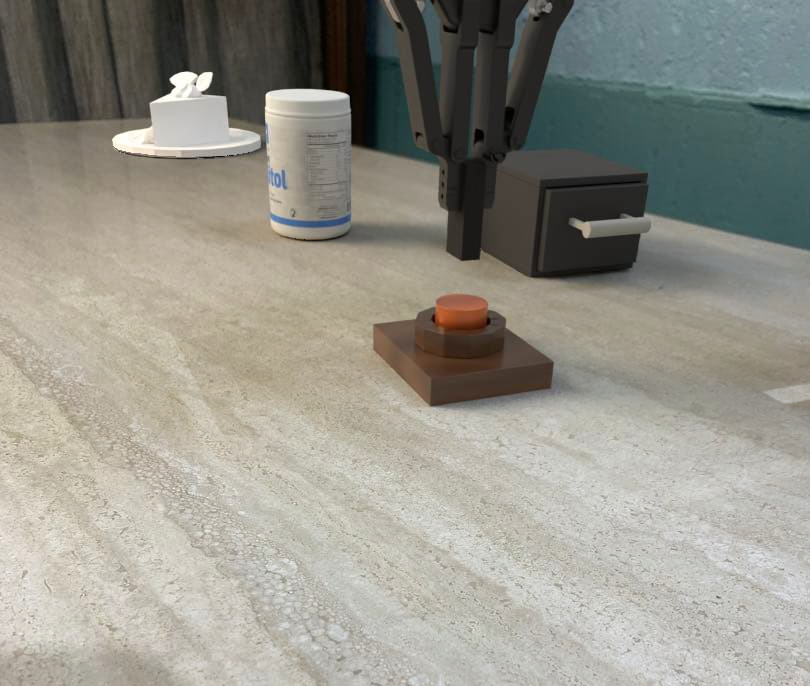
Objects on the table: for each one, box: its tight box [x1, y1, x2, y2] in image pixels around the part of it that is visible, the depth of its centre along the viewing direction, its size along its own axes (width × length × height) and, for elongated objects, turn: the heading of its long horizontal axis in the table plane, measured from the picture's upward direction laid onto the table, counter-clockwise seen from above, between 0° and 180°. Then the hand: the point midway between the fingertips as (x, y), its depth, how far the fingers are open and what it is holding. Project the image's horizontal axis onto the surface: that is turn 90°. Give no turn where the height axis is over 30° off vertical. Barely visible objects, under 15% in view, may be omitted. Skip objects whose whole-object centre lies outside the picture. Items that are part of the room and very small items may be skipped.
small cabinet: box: [481, 147, 649, 279], centre depth 94 cm, size 15×13×10 cm
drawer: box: [537, 182, 652, 272], centre depth 91 cm, size 18×11×8 cm, turn 22°
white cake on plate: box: [112, 71, 262, 157], centre depth 147 cm, size 25×25×11 cm
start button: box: [434, 293, 489, 330], centre depth 66 cm, size 4×4×2 cm
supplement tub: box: [264, 88, 352, 241], centre depth 99 cm, size 10×10×15 cm
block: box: [372, 306, 555, 408], centre depth 68 cm, size 12×10×4 cm
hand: (462, 255), depth 64 cm, fingers closed
